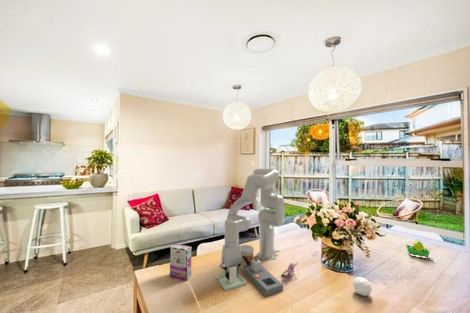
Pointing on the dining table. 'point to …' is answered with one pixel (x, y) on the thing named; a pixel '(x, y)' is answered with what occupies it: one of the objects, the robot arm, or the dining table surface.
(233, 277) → the cream plug
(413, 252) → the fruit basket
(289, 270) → the lily
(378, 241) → the dining table surface
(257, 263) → the grey twin plug
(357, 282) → the geometric ball
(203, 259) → the dining table surface
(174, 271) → the candy bar box
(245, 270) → the power strip
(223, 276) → the sage tray
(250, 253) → the coffee cup
